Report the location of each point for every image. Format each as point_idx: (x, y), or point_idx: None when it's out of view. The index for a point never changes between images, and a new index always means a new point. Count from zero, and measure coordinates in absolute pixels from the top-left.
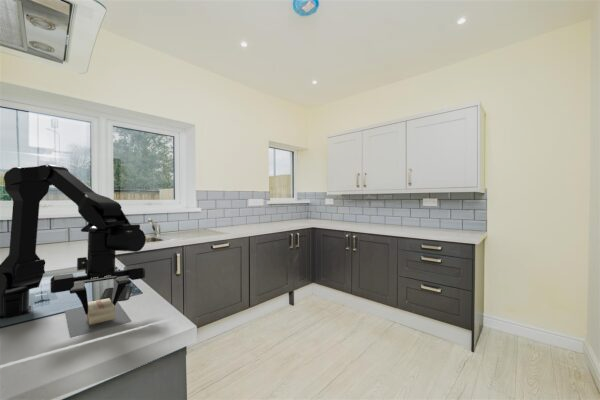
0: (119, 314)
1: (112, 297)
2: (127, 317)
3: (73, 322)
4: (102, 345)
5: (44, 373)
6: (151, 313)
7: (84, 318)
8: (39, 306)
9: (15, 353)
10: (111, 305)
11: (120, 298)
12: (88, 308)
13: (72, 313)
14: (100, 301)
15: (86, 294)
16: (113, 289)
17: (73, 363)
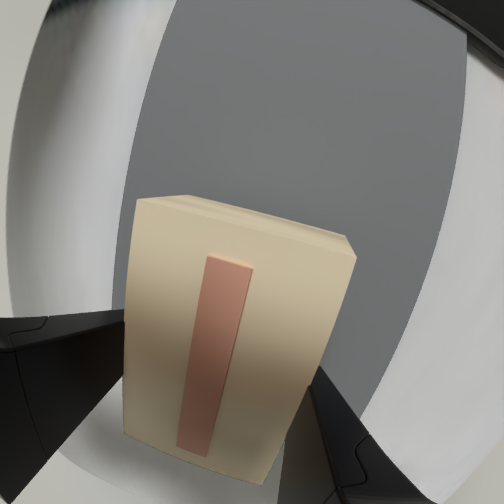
0: (378, 301)
1: (303, 432)
2: (369, 387)
3: (149, 184)
4: (187, 473)
5: (80, 448)
6: (469, 396)
7: (208, 166)
8: None
9: (19, 295)
10: (257, 458)
11: (487, 12)
12: (124, 374)
13: (198, 21)
14: (234, 309)
15: (35, 474)
16: (322, 483)
17: (121, 471)
